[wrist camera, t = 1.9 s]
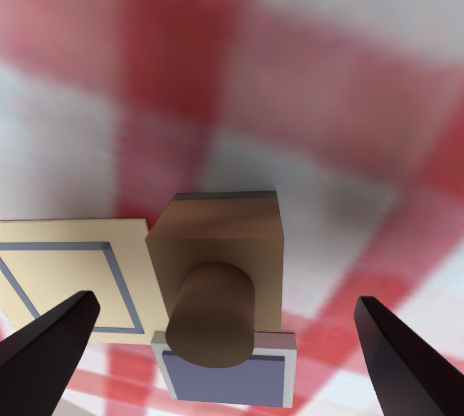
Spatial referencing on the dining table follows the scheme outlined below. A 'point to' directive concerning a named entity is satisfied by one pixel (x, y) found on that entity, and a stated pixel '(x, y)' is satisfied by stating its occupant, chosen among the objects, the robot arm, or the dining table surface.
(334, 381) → the dining table surface
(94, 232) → the sheet
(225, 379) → the ink pad
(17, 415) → the robot arm
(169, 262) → the stamp
